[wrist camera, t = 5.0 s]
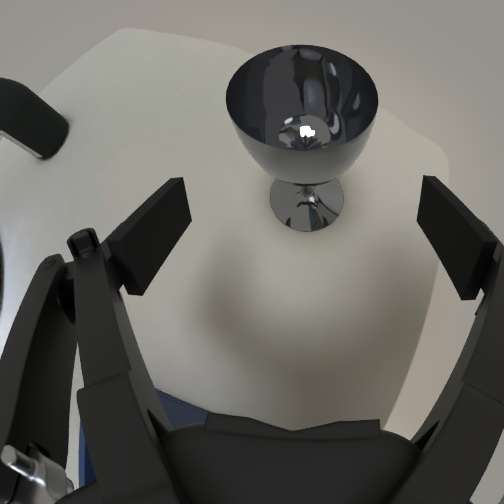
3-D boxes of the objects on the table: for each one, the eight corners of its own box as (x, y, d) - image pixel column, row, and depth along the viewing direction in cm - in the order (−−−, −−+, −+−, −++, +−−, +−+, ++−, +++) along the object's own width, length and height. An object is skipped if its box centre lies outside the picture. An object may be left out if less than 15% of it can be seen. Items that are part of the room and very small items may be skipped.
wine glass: (353, 169, 27) (379, 56, 12) (339, 244, 26) (373, 168, 11) (276, 154, 29) (248, 41, 14) (256, 225, 28) (204, 140, 13)
